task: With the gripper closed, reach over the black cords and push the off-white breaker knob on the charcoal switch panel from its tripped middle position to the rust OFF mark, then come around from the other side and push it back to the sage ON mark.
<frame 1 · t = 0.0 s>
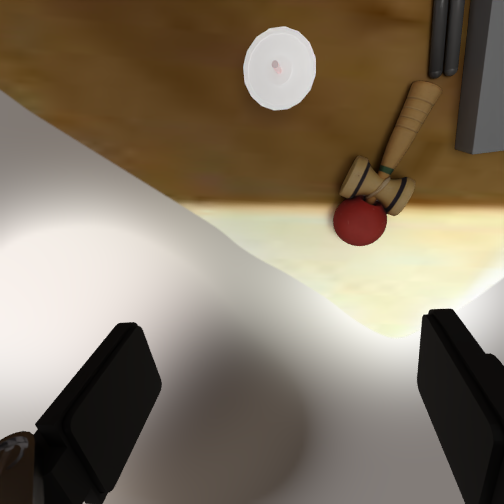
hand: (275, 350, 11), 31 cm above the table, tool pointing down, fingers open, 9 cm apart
kendama: (378, 166, 37), on the table
beverage cup: (283, 77, 35), on the table
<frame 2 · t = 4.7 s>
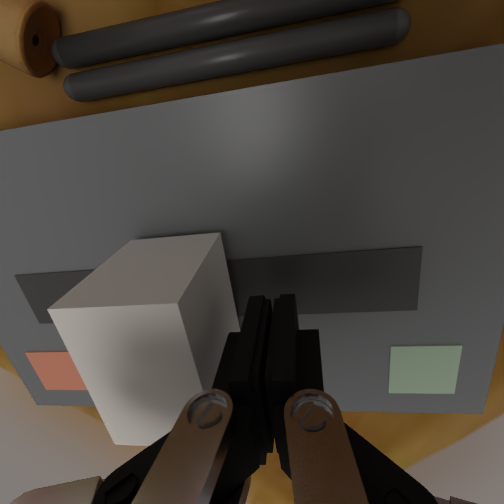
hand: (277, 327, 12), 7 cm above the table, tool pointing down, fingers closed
switch panel: (220, 253, 18), on the table
breaker knob: (170, 332, 12), point 7 cm above the table, slide at 0.4 cm, touching gripper
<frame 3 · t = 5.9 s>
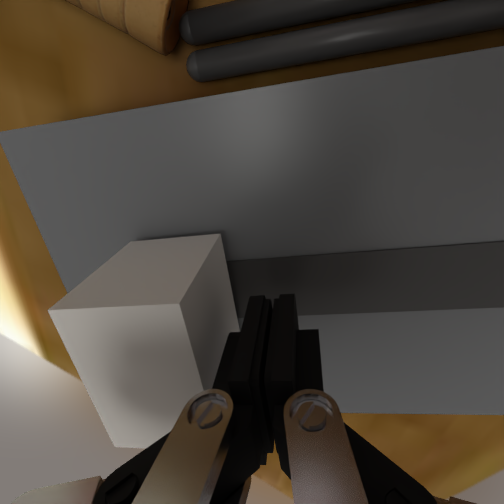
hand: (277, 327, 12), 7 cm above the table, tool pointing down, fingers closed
switch panel: (326, 246, 17), on the table
breaker knob: (170, 334, 12), point 7 cm above the table, slide at 6.4 cm, touching gripper
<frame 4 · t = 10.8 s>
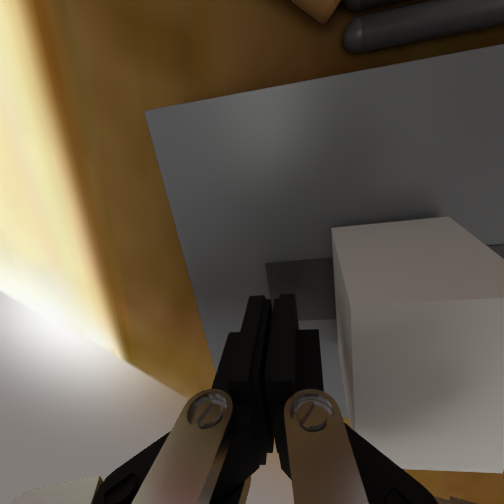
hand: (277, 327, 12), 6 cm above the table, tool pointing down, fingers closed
switch panel: (464, 237, 16), on the table
breaker knob: (405, 334, 10), point 7 cm above the table, slide at 4.7 cm, touching gripper
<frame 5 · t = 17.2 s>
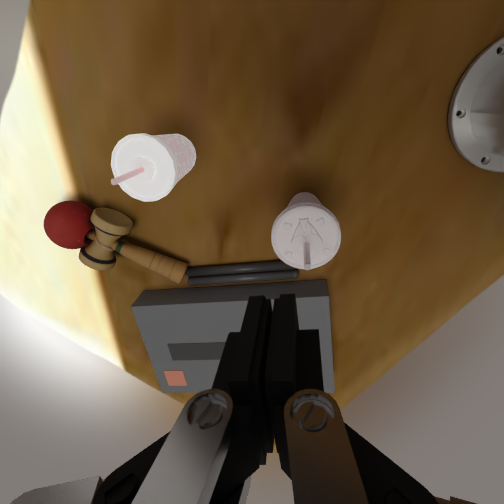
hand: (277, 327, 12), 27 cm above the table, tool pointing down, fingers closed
kendama: (129, 237, 43), on the table
smoothie: (304, 206, 37), on the table
switch panel: (239, 331, 47), on the table
beverage cup: (177, 154, 37), on the table
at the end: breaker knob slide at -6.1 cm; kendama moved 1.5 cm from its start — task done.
